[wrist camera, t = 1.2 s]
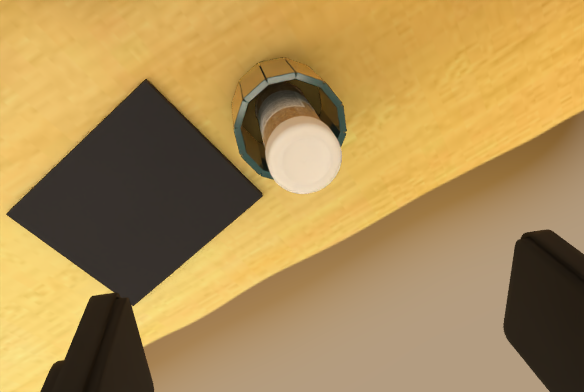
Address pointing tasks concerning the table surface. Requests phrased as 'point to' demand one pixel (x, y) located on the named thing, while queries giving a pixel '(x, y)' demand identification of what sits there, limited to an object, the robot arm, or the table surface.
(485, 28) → the table surface
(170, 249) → the felt mat
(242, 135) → the pen cup
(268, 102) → the sprinkles bottle
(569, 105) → the table surface
